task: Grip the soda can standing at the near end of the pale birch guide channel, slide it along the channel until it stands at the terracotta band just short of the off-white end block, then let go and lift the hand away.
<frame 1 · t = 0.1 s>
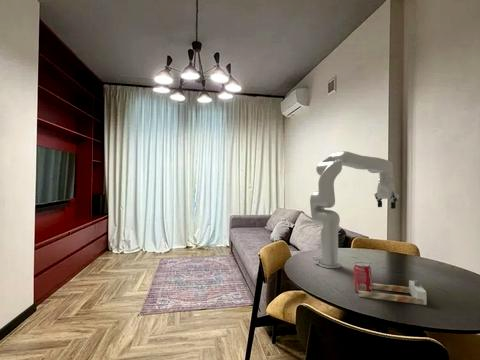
hand: (386, 207, 168), 31 cm above the table, tool pointing down, fingers open, 9 cm apart
connector block: (417, 298, 109), on the table
soda can: (362, 292, 115), on the table
guide channel: (387, 294, 112), on the table
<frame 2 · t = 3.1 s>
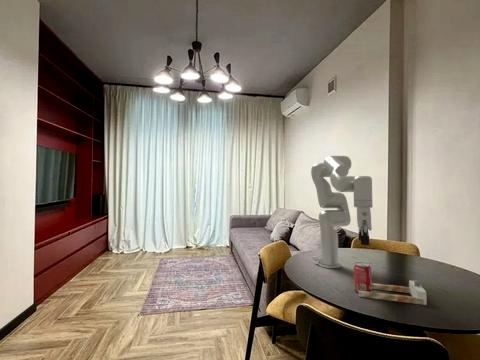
hand: (363, 242, 117), 21 cm above the table, tool pointing down, fingers open, 9 cm apart
nothing on the table moved.
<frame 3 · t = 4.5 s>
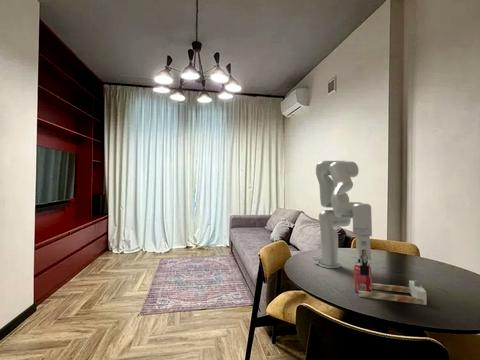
hand: (363, 271, 115), 9 cm above the table, tool pointing down, fingers open, 9 cm apart
nothing on the table moved.
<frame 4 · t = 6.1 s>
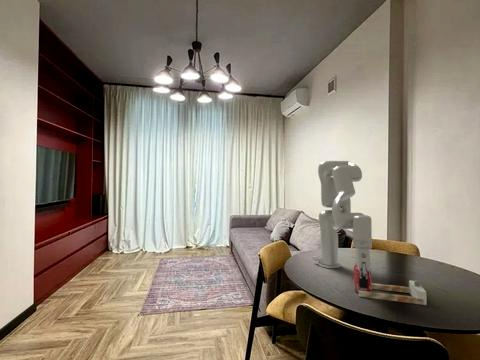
hand: (362, 284, 115), 3 cm above the table, tool pointing down, fingers closed on soda can, 6 cm apart
soda can: (362, 292, 115), on the table, touching gripper
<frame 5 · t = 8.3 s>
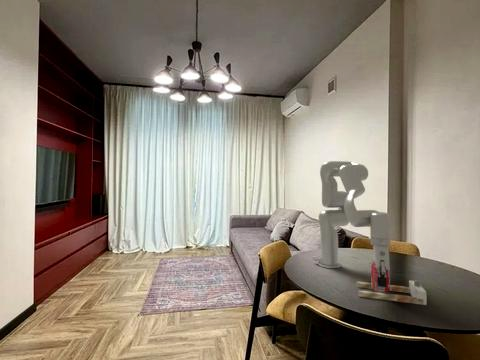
hand: (380, 282, 113), 5 cm above the table, tool pointing down, fingers closed on soda can, 6 cm apart
soda can: (380, 290, 113), point 1 cm above the table, touching gripper
when the fingers open (4 cm above the table, at t = 10.9 s): soda can stays where it is, on the table.
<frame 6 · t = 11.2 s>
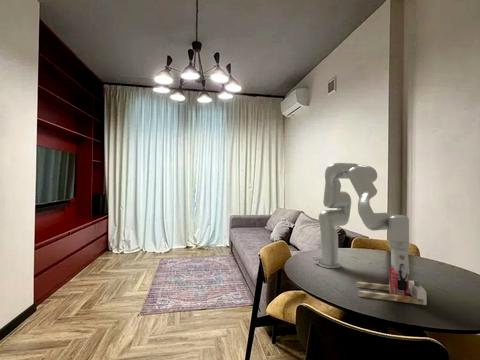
hand: (399, 285, 111), 4 cm above the table, tool pointing down, fingers open, 9 cm apart
soda can: (398, 296, 111), on the table
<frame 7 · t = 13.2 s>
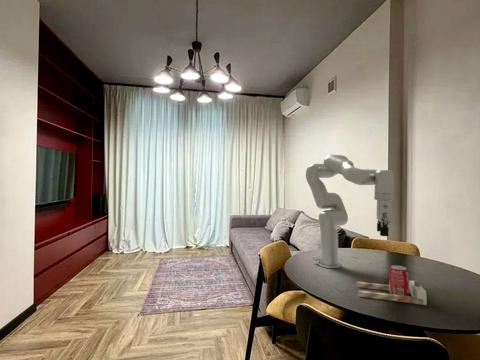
hand: (382, 233, 123), 24 cm above the table, tool pointing down, fingers open, 9 cm apart
nothing on the table moved.
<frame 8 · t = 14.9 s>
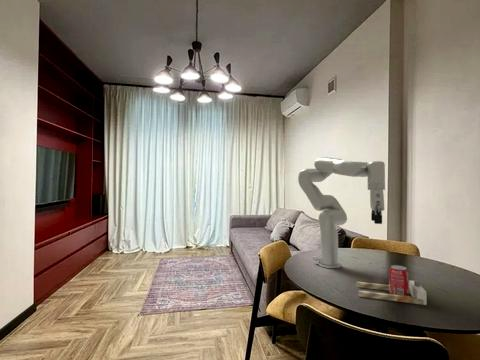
hand: (376, 222, 128), 28 cm above the table, tool pointing down, fingers open, 9 cm apart
nothing on the table moved.
at the end: soda can inside the target area (0.1 cm from its centre), on the table; soda can tilted 0°; the gripper is holding nothing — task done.
